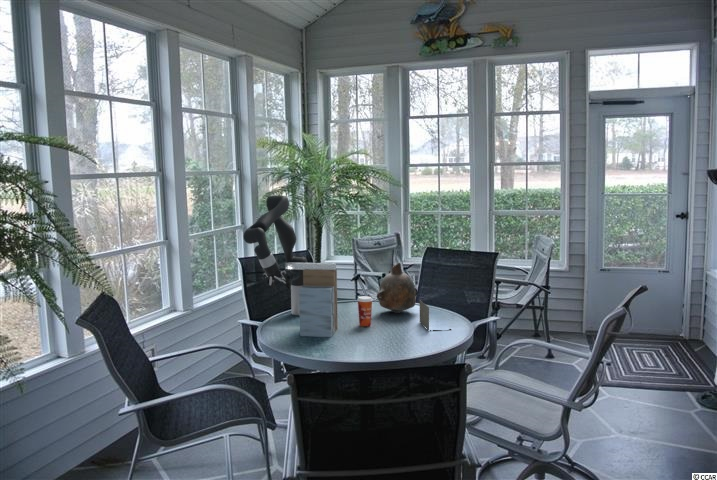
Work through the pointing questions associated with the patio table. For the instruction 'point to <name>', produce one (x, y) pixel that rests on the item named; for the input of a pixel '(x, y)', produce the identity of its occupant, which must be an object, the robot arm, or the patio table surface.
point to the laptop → (424, 314)
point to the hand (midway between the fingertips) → (282, 288)
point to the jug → (397, 291)
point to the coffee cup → (364, 310)
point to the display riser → (318, 303)
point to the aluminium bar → (310, 266)
